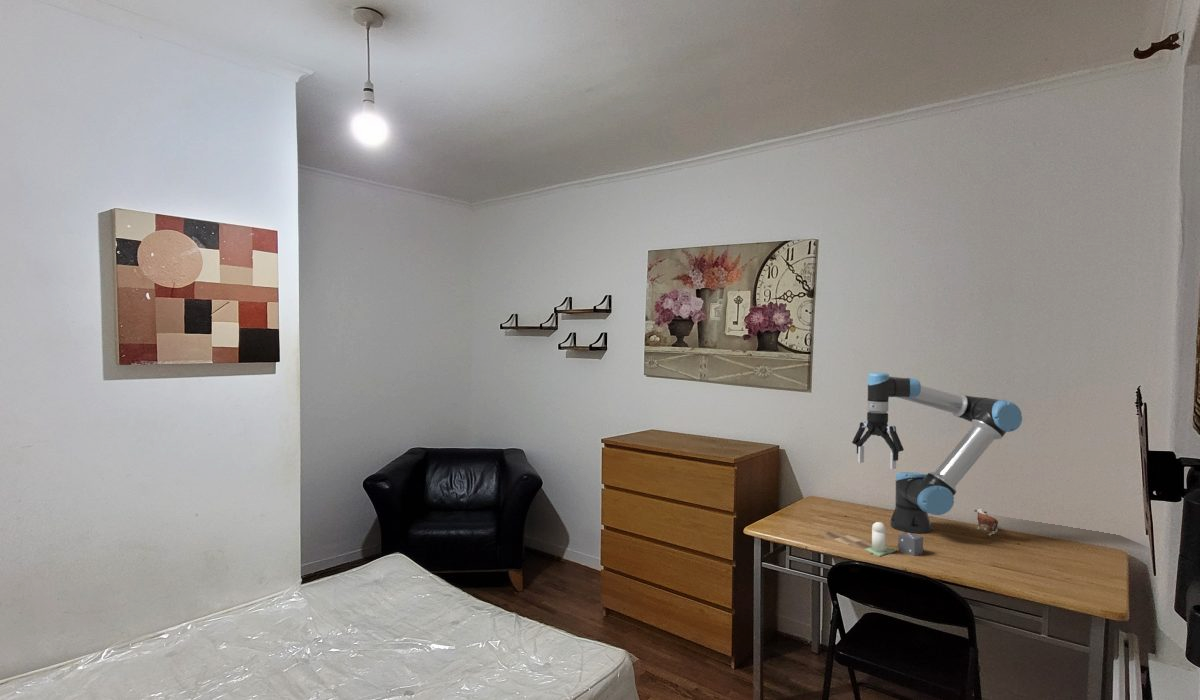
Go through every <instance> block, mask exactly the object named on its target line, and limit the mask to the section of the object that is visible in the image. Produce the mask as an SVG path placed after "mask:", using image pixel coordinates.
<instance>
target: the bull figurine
mask: <svg viewBox="0 0 1200 700" xmlns="http://www.w3.org/2000/svg"><path fill="white" fill-rule="evenodd" d="M974 512H975V513H977V523H978V524H977V528H976V530H977V531H980V530H981V525H982V526H984V528H983V529H984V531H985V532H987V531H988V530H989V534H988V536H992V535H995V534H996V533H997V532H998V526H999V521H998V519H996V518H995V517H993V516H990V515H988V511H986V510H983V509H982V508H978V509H974Z"/></svg>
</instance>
